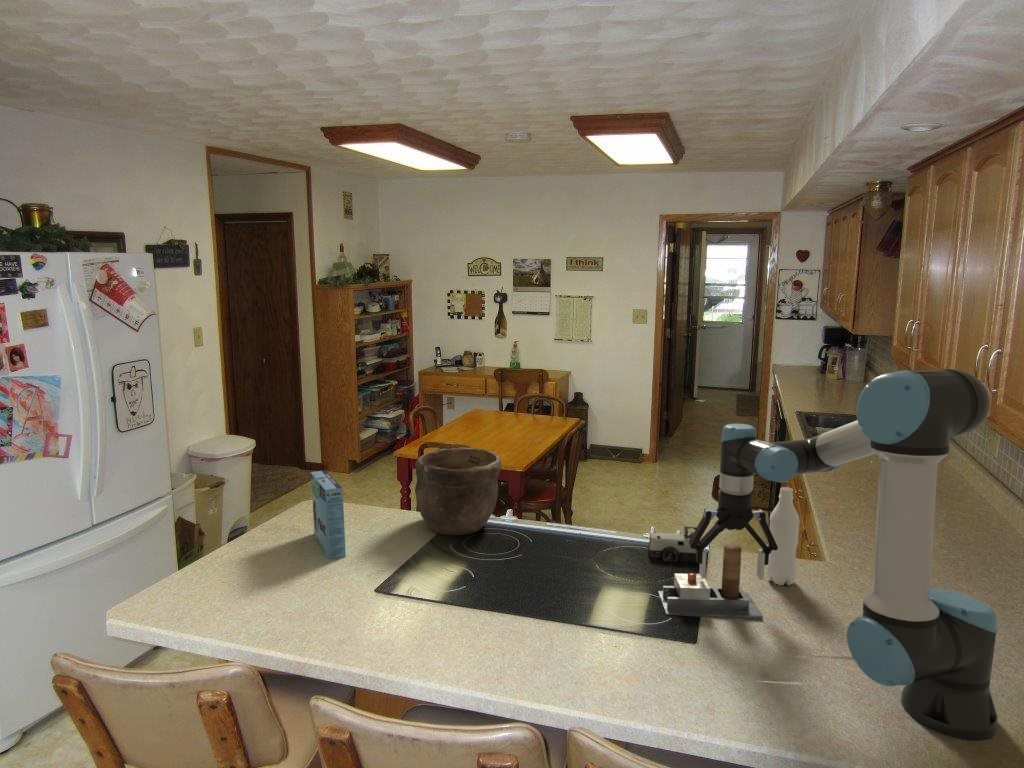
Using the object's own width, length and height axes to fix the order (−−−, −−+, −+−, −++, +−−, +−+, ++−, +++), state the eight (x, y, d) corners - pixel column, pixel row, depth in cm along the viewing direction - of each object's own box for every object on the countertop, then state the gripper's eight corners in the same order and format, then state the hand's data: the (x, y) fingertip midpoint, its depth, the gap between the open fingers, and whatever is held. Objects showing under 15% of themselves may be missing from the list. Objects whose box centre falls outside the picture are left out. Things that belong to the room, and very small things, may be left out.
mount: (762, 620, 163) (763, 605, 162) (666, 617, 164) (666, 603, 163) (747, 596, 174) (748, 583, 174) (657, 594, 175) (658, 581, 175)
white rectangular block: (709, 599, 165) (710, 581, 164) (680, 599, 165) (681, 581, 164) (702, 584, 172) (702, 567, 172) (673, 584, 173) (674, 567, 172)
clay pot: (468, 559, 196) (468, 472, 193) (397, 541, 210) (396, 459, 206) (517, 531, 219) (517, 452, 215) (450, 516, 232) (449, 441, 228)
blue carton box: (346, 570, 189) (343, 487, 186) (327, 573, 187) (324, 490, 184) (331, 545, 207) (328, 469, 203) (313, 548, 204) (310, 471, 201)
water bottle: (797, 589, 179) (804, 494, 175) (768, 586, 180) (774, 492, 176) (792, 577, 186) (798, 485, 182) (764, 575, 187) (769, 483, 183)
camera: (647, 564, 194) (648, 529, 193) (648, 553, 202) (649, 520, 200) (704, 569, 191) (705, 533, 190) (702, 558, 198) (704, 524, 197)
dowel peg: (740, 607, 167) (743, 550, 165) (723, 606, 167) (726, 550, 165) (736, 599, 171) (739, 544, 168) (719, 599, 171) (722, 544, 169)
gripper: (784, 486, 168) (779, 571, 171) (678, 484, 169) (675, 569, 172) (795, 496, 160) (789, 584, 163) (684, 494, 161) (681, 582, 164)
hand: (731, 576), depth 168 cm, fingers open, 13 cm apart
